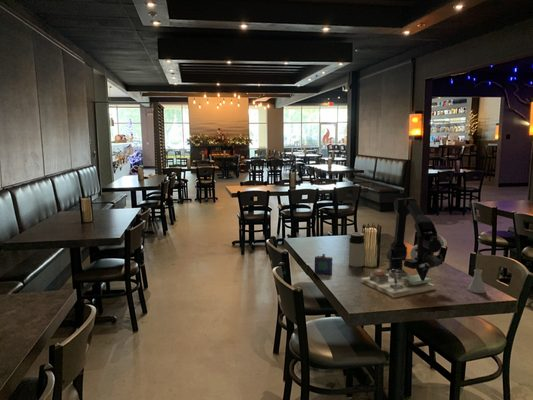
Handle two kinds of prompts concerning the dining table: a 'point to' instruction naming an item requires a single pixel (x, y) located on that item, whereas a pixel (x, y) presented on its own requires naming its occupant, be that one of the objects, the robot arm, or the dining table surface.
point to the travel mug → (356, 249)
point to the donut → (413, 253)
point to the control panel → (392, 289)
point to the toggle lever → (394, 275)
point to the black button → (398, 271)
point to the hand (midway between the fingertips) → (422, 280)
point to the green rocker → (415, 279)
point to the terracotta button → (379, 273)
